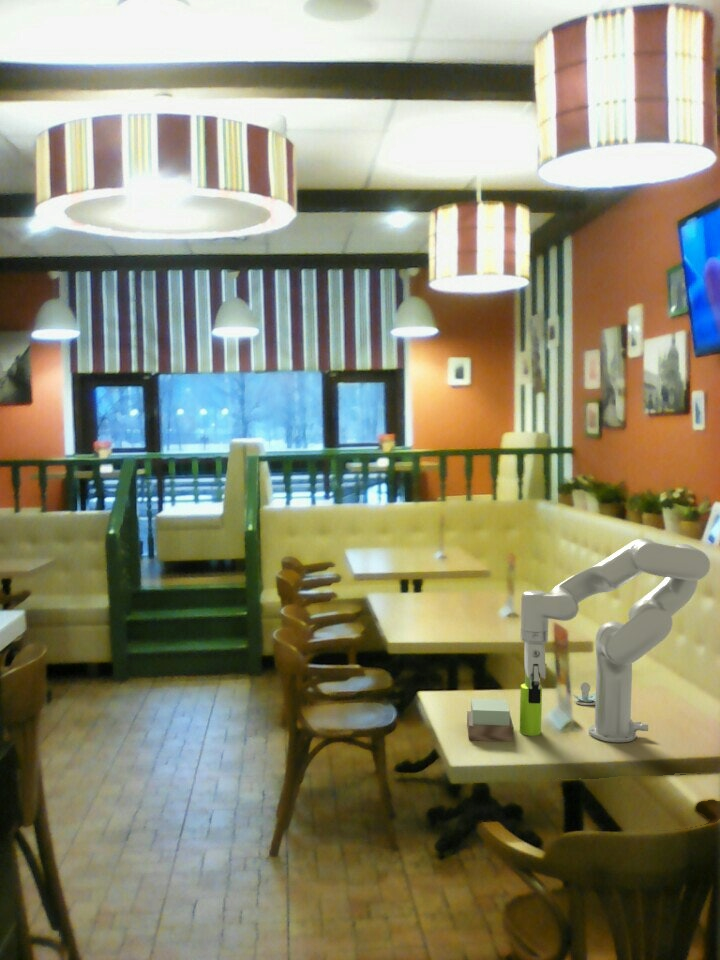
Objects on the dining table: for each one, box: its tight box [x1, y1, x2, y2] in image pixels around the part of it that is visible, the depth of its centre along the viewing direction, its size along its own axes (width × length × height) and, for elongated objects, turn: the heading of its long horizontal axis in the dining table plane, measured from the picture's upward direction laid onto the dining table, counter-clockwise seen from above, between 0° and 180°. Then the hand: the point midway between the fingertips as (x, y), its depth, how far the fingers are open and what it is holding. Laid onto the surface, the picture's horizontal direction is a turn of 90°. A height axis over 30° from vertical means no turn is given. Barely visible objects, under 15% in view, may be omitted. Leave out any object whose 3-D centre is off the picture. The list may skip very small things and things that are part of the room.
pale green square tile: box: [470, 698, 511, 726], centre depth 243 cm, size 10×10×4 cm
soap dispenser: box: [519, 662, 547, 737], centre depth 244 cm, size 6×7×20 cm
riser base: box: [466, 710, 514, 743], centre depth 244 cm, size 12×12×4 cm
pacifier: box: [572, 682, 596, 706], centre depth 271 cm, size 7×6×6 cm
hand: (532, 698), depth 244 cm, fingers closed on soap dispenser, 5 cm apart
